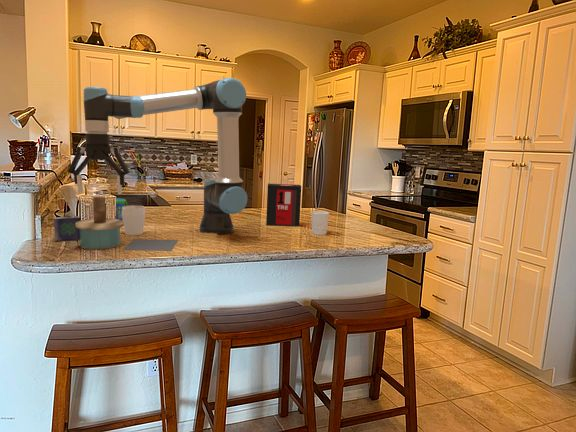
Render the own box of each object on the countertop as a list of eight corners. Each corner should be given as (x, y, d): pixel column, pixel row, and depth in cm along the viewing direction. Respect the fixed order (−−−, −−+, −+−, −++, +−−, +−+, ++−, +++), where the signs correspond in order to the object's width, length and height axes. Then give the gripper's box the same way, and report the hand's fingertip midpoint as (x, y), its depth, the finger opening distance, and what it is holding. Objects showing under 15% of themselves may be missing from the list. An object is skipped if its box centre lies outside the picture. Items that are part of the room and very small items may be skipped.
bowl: (123, 243, 163) (123, 222, 161) (113, 251, 150) (113, 229, 148) (88, 242, 161) (87, 221, 160) (75, 251, 148) (74, 228, 147)
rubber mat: (178, 242, 168) (178, 239, 168) (171, 253, 151) (171, 250, 151) (133, 241, 166) (133, 239, 166) (122, 252, 149) (121, 249, 149)
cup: (137, 238, 171) (137, 209, 169) (117, 236, 172) (117, 207, 170) (149, 234, 179) (149, 206, 177) (130, 232, 181) (129, 204, 179)
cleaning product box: (266, 225, 211) (267, 185, 208) (266, 222, 220) (267, 183, 216) (299, 226, 212) (301, 186, 208) (298, 223, 220) (300, 184, 217)
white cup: (330, 233, 199) (331, 212, 197) (324, 236, 192) (325, 214, 190) (314, 231, 202) (315, 210, 200) (308, 234, 195) (309, 212, 193)
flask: (54, 241, 160) (53, 213, 158) (54, 240, 162) (53, 212, 161) (81, 240, 165) (81, 212, 163) (81, 238, 167) (80, 211, 165)
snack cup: (121, 216, 216) (121, 197, 214) (135, 219, 210) (134, 199, 208) (93, 220, 203) (92, 199, 201) (106, 223, 197) (106, 202, 195)
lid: (128, 222, 163) (128, 195, 161) (116, 230, 147) (116, 201, 145) (84, 221, 161) (83, 194, 159) (68, 229, 145) (66, 199, 144)
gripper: (136, 134, 154) (138, 192, 157) (64, 132, 151) (67, 191, 155) (131, 134, 146) (133, 195, 150) (55, 131, 144) (59, 194, 147)
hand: (100, 193), depth 152 cm, fingers open, 13 cm apart
